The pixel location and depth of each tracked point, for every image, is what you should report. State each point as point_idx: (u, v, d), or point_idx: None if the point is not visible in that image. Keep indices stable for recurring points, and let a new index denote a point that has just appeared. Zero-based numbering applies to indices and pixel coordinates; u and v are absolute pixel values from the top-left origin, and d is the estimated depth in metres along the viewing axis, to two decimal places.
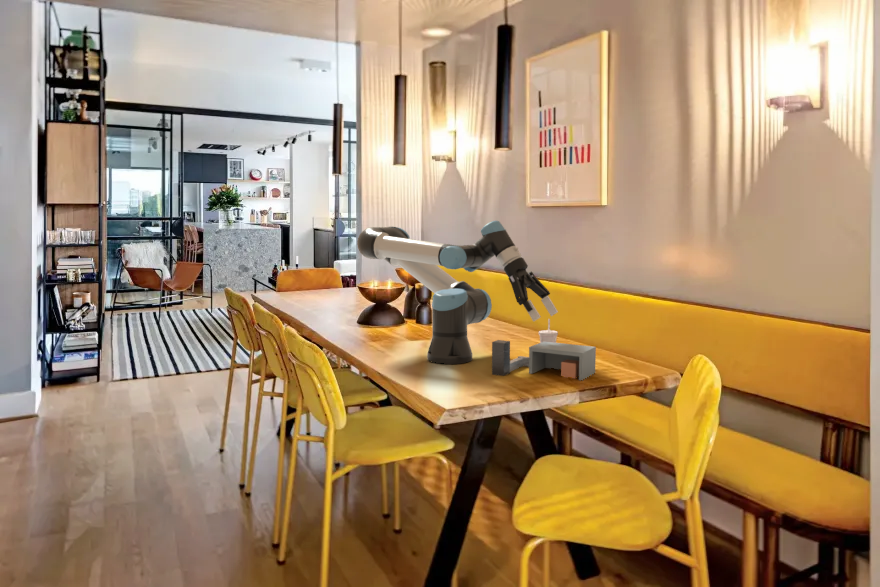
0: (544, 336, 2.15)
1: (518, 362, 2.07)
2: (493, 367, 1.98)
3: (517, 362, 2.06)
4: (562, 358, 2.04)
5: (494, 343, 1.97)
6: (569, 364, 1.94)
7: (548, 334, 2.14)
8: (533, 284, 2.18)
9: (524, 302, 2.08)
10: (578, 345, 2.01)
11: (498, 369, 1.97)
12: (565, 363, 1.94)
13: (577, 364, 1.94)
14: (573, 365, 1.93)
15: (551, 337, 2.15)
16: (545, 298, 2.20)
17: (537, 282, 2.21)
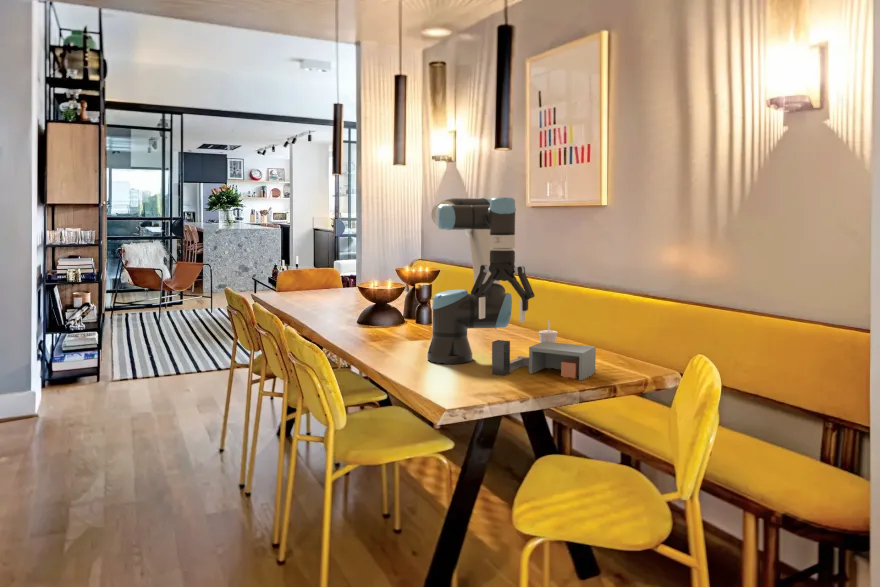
0: (544, 336, 2.15)
1: (518, 362, 2.07)
2: (493, 367, 1.98)
3: (517, 362, 2.06)
4: (562, 358, 2.04)
5: (494, 343, 1.97)
6: (569, 364, 1.94)
7: (548, 334, 2.14)
8: None
9: None
10: (578, 345, 2.01)
11: (498, 369, 1.97)
12: (565, 363, 1.94)
13: (577, 364, 1.94)
14: (573, 365, 1.93)
15: (551, 337, 2.15)
16: None
17: (521, 281, 1.92)
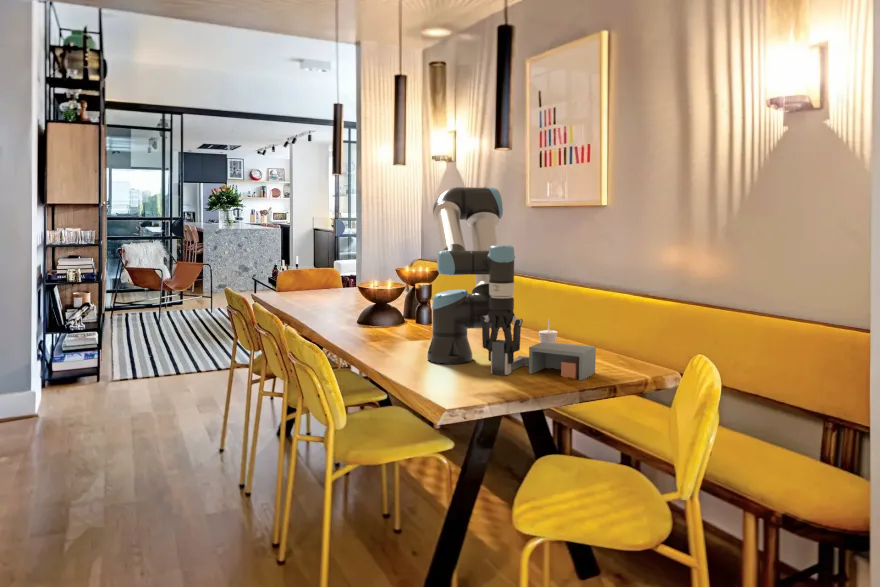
0: (544, 336, 2.15)
1: (518, 362, 2.07)
2: (493, 367, 1.98)
3: (517, 362, 2.06)
4: (562, 358, 2.04)
5: (494, 343, 1.97)
6: (569, 364, 1.94)
7: (548, 334, 2.14)
8: None
9: None
10: (578, 345, 2.01)
11: (498, 369, 1.97)
12: (565, 363, 1.94)
13: (577, 364, 1.94)
14: (573, 365, 1.93)
15: (551, 337, 2.15)
16: None
17: None
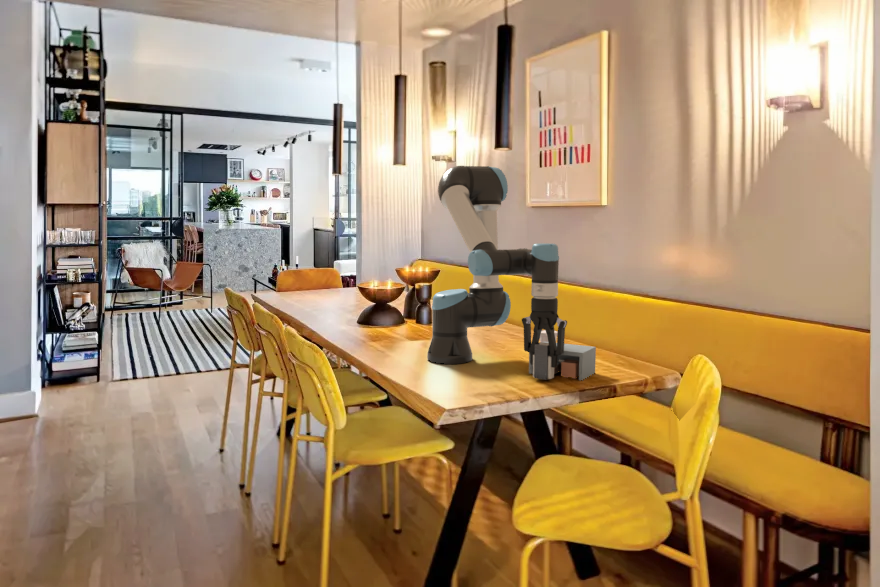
0: (544, 336, 2.15)
1: (560, 365, 1.98)
2: (535, 371, 1.89)
3: (559, 366, 1.97)
4: (562, 358, 2.04)
5: (537, 345, 1.88)
6: (569, 364, 1.94)
7: None
8: None
9: None
10: (578, 345, 2.01)
11: (541, 373, 1.88)
12: (565, 363, 1.94)
13: (577, 364, 1.94)
14: (573, 365, 1.93)
15: None
16: None
17: (557, 335, 1.86)
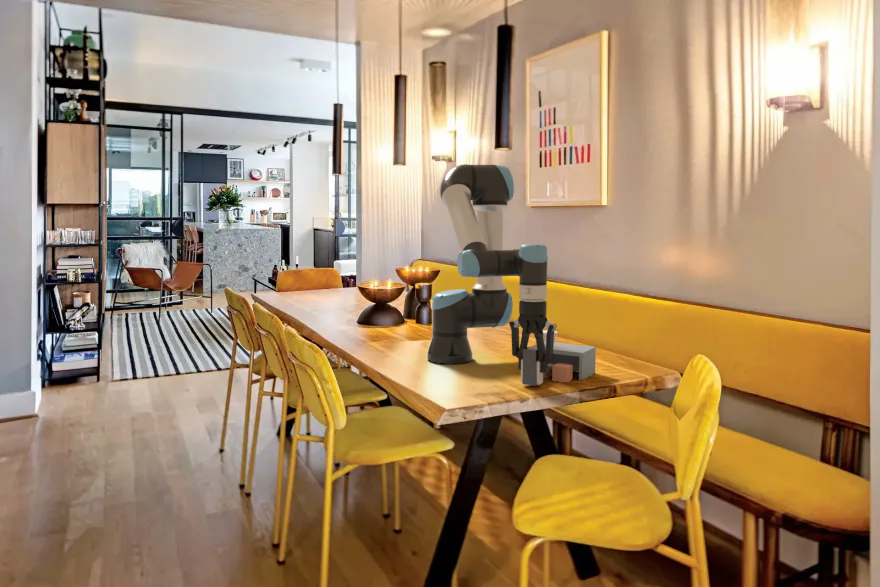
0: (544, 336, 2.15)
1: (549, 370, 1.91)
2: (524, 376, 1.82)
3: (548, 370, 1.91)
4: (562, 358, 2.04)
5: (525, 350, 1.81)
6: (560, 368, 1.88)
7: None
8: None
9: None
10: (578, 345, 2.01)
11: (530, 378, 1.81)
12: (556, 367, 1.89)
13: (569, 368, 1.88)
14: (564, 369, 1.87)
15: None
16: None
17: None
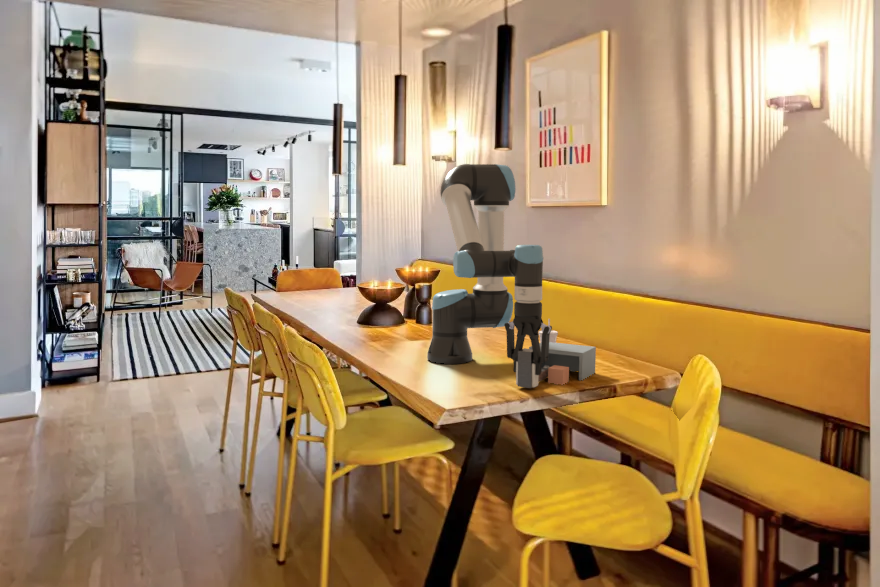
0: None
1: (545, 372, 1.89)
2: (519, 378, 1.80)
3: (544, 372, 1.88)
4: (562, 358, 2.04)
5: (520, 352, 1.79)
6: (556, 370, 1.86)
7: None
8: None
9: None
10: (578, 345, 2.01)
11: (525, 381, 1.79)
12: (552, 369, 1.86)
13: (565, 370, 1.86)
14: (560, 371, 1.85)
15: (551, 337, 2.15)
16: None
17: (542, 341, 1.76)
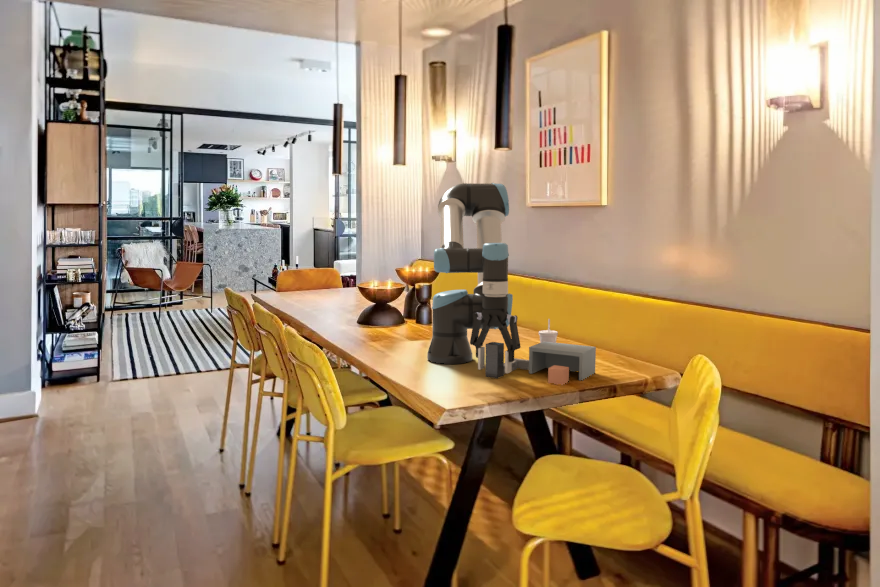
0: (544, 336, 2.15)
1: (512, 364, 2.03)
2: (487, 369, 1.95)
3: (512, 365, 2.03)
4: (562, 358, 2.04)
5: (488, 345, 1.94)
6: (556, 370, 1.86)
7: (548, 334, 2.14)
8: None
9: None
10: (578, 345, 2.01)
11: (492, 372, 1.94)
12: (552, 369, 1.86)
13: (565, 370, 1.86)
14: (560, 371, 1.85)
15: (551, 337, 2.15)
16: None
17: None
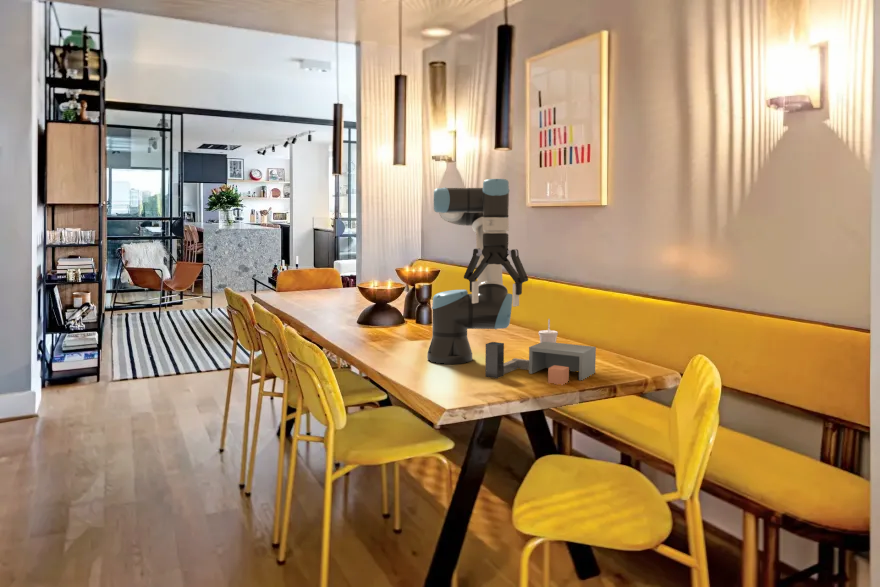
0: (544, 336, 2.15)
1: (512, 364, 2.03)
2: (487, 369, 1.95)
3: (512, 365, 2.03)
4: (562, 358, 2.04)
5: (488, 345, 1.94)
6: (556, 370, 1.86)
7: (548, 334, 2.14)
8: None
9: None
10: (578, 345, 2.01)
11: (492, 372, 1.94)
12: (552, 369, 1.86)
13: (565, 370, 1.86)
14: (560, 371, 1.85)
15: (551, 337, 2.15)
16: None
17: (514, 264, 1.88)
